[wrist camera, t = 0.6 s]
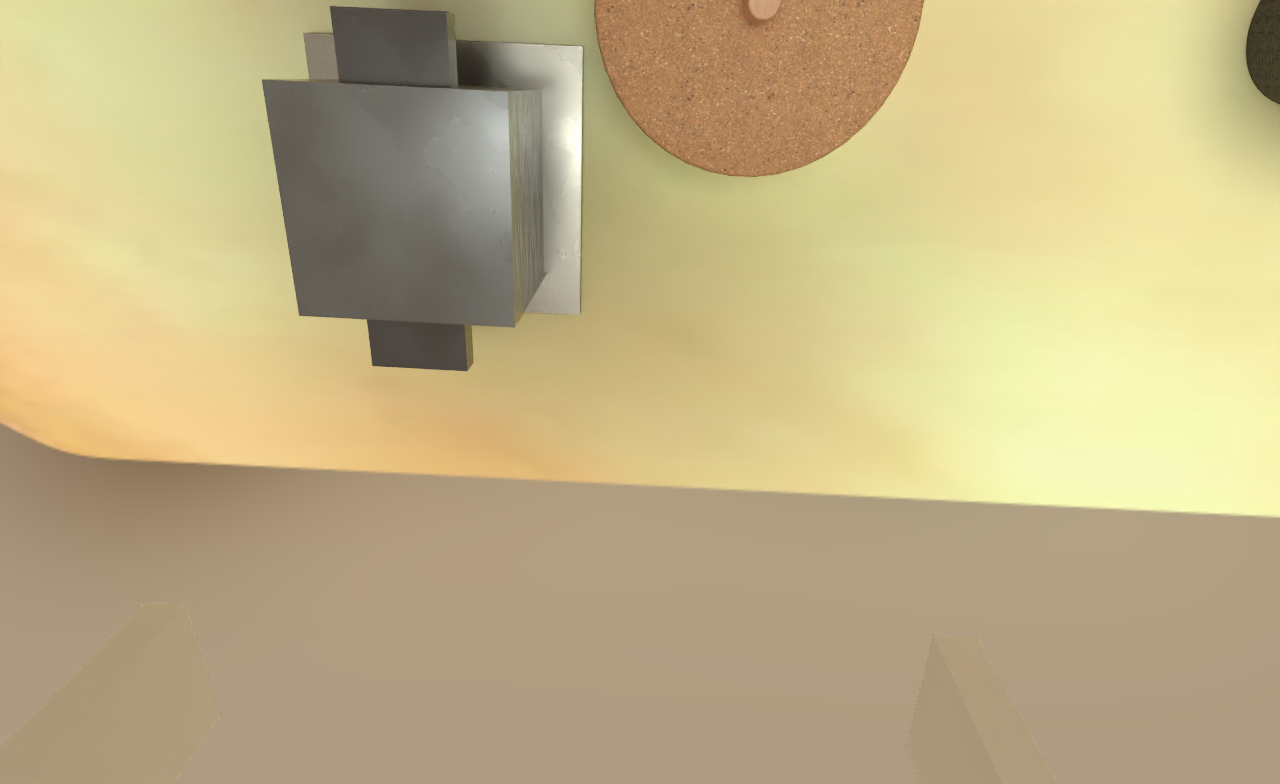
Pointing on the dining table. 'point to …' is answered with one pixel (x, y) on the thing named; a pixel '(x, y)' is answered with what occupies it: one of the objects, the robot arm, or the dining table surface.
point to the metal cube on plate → (429, 181)
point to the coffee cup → (1265, 49)
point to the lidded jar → (754, 74)
